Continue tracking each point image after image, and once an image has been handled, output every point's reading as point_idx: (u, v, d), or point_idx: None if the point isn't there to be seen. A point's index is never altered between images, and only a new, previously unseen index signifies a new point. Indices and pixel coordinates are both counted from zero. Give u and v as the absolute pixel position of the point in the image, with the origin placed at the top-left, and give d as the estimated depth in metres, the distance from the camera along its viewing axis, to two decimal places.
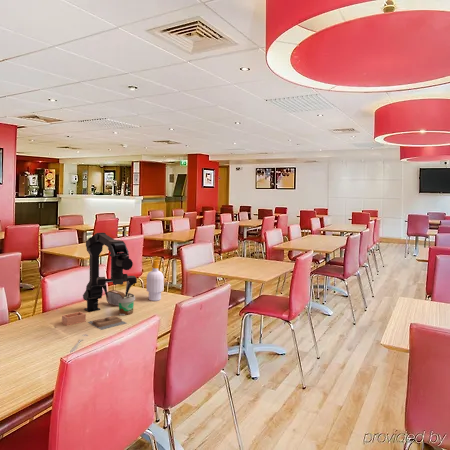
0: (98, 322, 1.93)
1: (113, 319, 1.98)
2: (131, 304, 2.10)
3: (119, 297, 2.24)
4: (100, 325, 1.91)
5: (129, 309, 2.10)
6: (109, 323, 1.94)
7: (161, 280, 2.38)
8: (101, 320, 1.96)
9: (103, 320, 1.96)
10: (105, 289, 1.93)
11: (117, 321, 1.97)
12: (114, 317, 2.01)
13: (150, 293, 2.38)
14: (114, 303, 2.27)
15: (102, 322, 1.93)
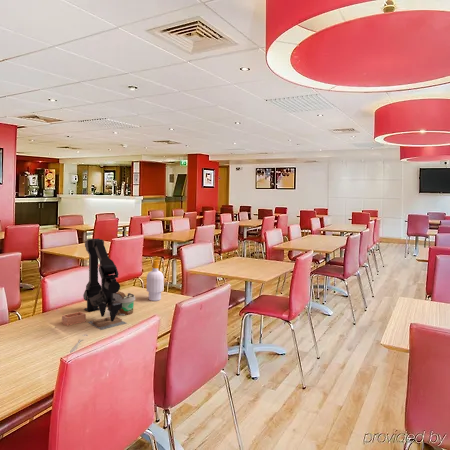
0: (98, 322, 1.93)
1: None
2: (131, 304, 2.10)
3: (119, 297, 2.24)
4: (100, 325, 1.91)
5: (129, 309, 2.10)
6: (109, 323, 1.94)
7: (161, 280, 2.38)
8: (101, 320, 1.96)
9: (103, 320, 1.96)
10: (99, 307, 1.99)
11: (117, 321, 1.97)
12: None
13: (150, 293, 2.38)
14: None
15: (102, 322, 1.93)
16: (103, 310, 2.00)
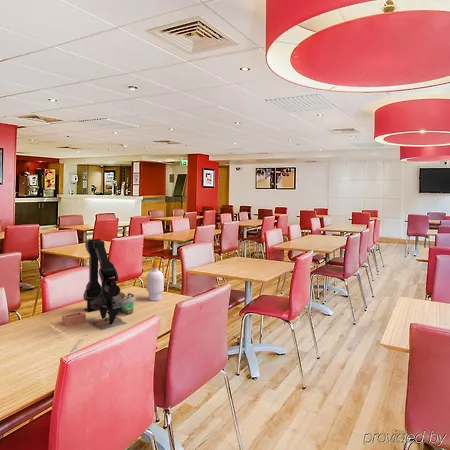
0: (98, 322, 1.93)
1: None
2: (131, 304, 2.10)
3: (119, 297, 2.24)
4: (100, 325, 1.91)
5: (129, 309, 2.10)
6: (109, 323, 1.94)
7: (161, 280, 2.38)
8: (101, 320, 1.96)
9: (103, 320, 1.96)
10: (100, 311, 1.99)
11: (117, 321, 1.97)
12: None
13: (150, 293, 2.38)
14: None
15: (102, 322, 1.93)
16: (104, 314, 2.00)
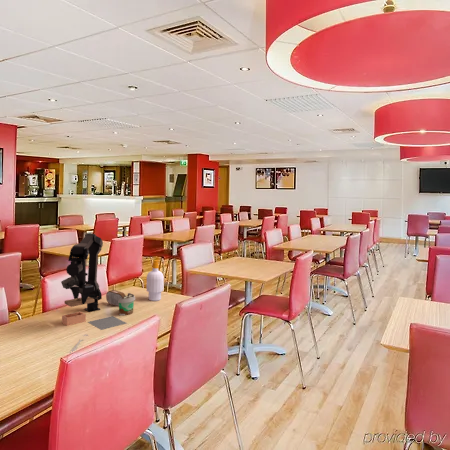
0: (70, 302, 1.91)
1: None
2: (131, 304, 2.10)
3: (119, 297, 2.24)
4: (72, 305, 1.89)
5: (129, 309, 2.10)
6: (81, 303, 1.92)
7: (161, 280, 2.38)
8: (73, 300, 1.94)
9: (75, 300, 1.94)
10: (72, 291, 1.97)
11: (90, 301, 1.95)
12: None
13: (150, 293, 2.38)
14: (114, 303, 2.27)
15: (74, 302, 1.91)
16: (76, 294, 1.98)
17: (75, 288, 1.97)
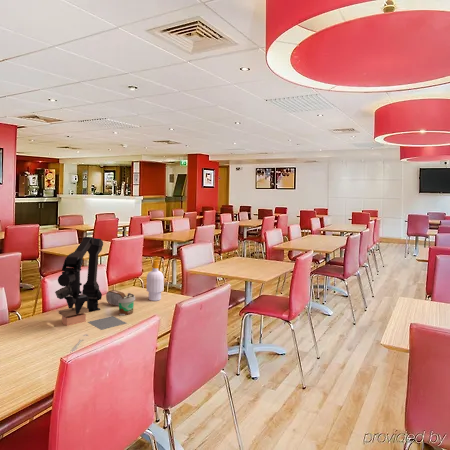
0: (64, 312, 1.91)
1: None
2: (131, 304, 2.10)
3: (119, 297, 2.24)
4: (65, 315, 1.89)
5: (129, 309, 2.10)
6: (75, 313, 1.93)
7: (161, 280, 2.38)
8: (67, 310, 1.94)
9: (69, 310, 1.94)
10: (67, 301, 1.97)
11: (84, 311, 1.96)
12: None
13: (150, 293, 2.38)
14: (114, 303, 2.27)
15: (68, 312, 1.92)
16: (71, 304, 1.98)
17: (70, 298, 1.98)
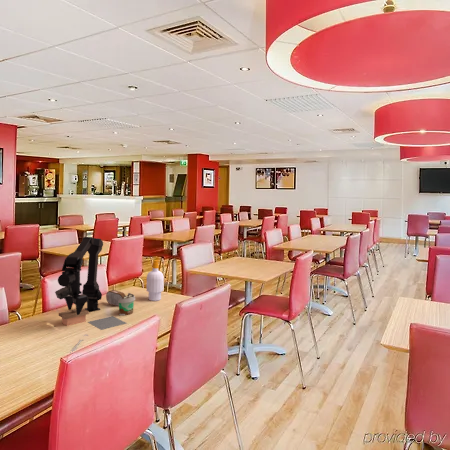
0: (64, 314, 1.92)
1: None
2: (131, 304, 2.10)
3: (119, 297, 2.24)
4: (65, 317, 1.89)
5: (129, 309, 2.10)
6: (75, 315, 1.93)
7: (161, 280, 2.38)
8: (67, 312, 1.94)
9: (69, 312, 1.95)
10: (66, 301, 1.98)
11: (84, 313, 1.96)
12: None
13: (150, 293, 2.38)
14: (114, 303, 2.27)
15: (68, 314, 1.92)
16: (70, 303, 1.99)
17: (69, 297, 1.98)
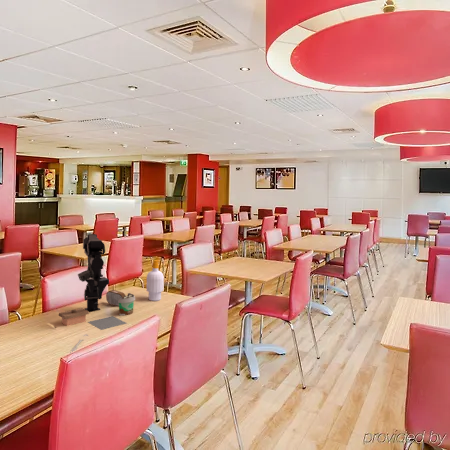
0: (64, 314, 1.92)
1: (80, 311, 1.96)
2: (131, 304, 2.10)
3: (119, 297, 2.24)
4: (65, 317, 1.89)
5: (129, 309, 2.10)
6: (75, 315, 1.93)
7: (161, 280, 2.38)
8: (67, 312, 1.94)
9: (69, 312, 1.95)
10: (88, 283, 2.06)
11: (84, 313, 1.96)
12: (81, 309, 1.99)
13: (150, 293, 2.38)
14: (114, 303, 2.27)
15: (68, 314, 1.92)
16: (92, 286, 2.06)
17: (91, 280, 2.06)
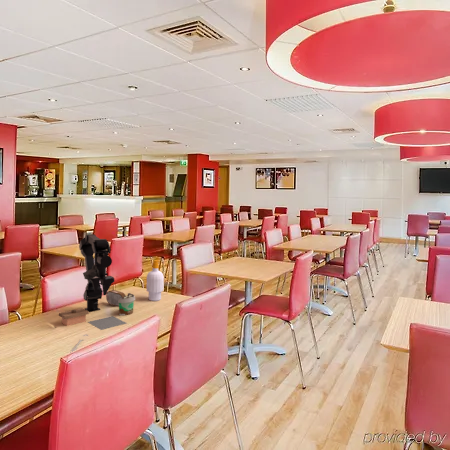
0: (64, 314, 1.92)
1: (80, 311, 1.96)
2: (131, 304, 2.10)
3: (119, 297, 2.24)
4: (65, 317, 1.89)
5: (129, 309, 2.10)
6: (75, 315, 1.93)
7: (161, 280, 2.38)
8: (67, 312, 1.94)
9: (69, 312, 1.95)
10: (92, 282, 2.07)
11: (84, 313, 1.96)
12: (81, 309, 1.99)
13: (150, 293, 2.38)
14: (114, 303, 2.27)
15: (68, 314, 1.92)
16: (96, 285, 2.08)
17: (95, 279, 2.08)
